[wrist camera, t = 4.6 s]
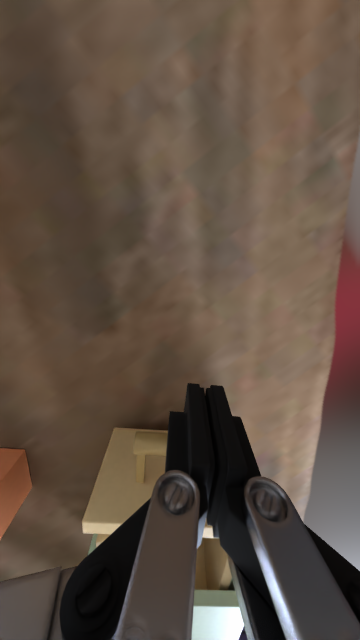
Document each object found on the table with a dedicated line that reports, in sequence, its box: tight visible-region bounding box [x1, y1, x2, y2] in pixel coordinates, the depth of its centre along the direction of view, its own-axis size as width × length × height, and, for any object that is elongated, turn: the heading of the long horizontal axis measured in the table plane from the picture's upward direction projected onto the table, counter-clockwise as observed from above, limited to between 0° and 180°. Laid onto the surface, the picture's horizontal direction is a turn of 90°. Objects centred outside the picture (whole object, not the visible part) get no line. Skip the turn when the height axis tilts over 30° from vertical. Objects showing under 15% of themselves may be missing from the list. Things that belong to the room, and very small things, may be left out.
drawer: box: [82, 428, 232, 590], centre depth 18 cm, size 18×11×7 cm, turn 175°
